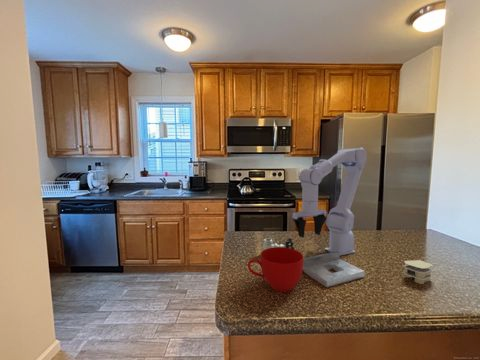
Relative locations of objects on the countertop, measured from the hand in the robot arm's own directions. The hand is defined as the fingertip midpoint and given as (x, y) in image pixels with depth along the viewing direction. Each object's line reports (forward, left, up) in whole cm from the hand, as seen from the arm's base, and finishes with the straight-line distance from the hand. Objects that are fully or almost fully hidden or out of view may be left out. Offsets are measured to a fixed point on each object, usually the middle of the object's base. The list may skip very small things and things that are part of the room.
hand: (309, 235), depth 92 cm
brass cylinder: (0, 0, -10) cm, 10 cm away
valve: (+8, -10, -10) cm, 16 cm away
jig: (0, +12, -10) cm, 16 cm away
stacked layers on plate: (-22, +26, -10) cm, 36 cm away
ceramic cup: (+22, +11, -10) cm, 27 cm away
